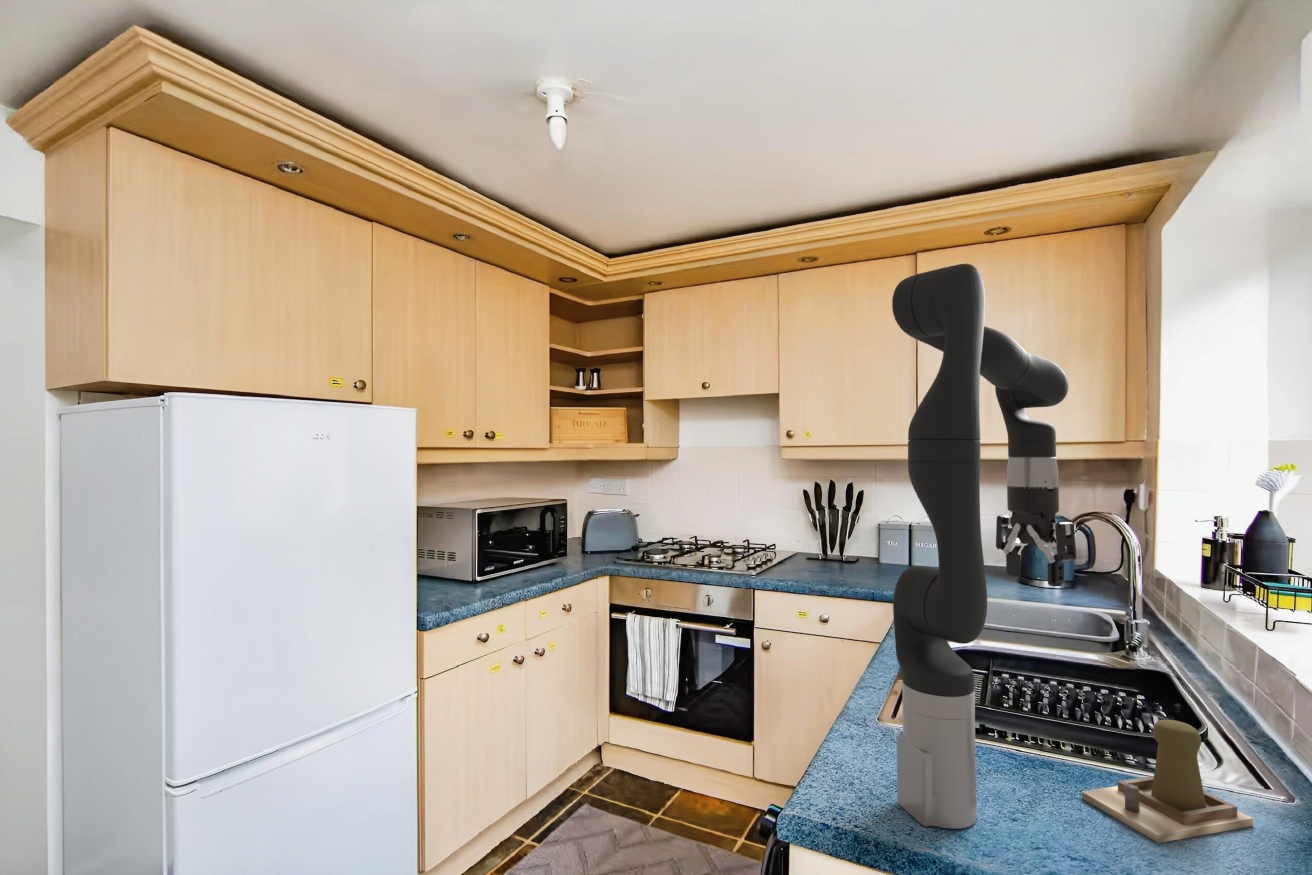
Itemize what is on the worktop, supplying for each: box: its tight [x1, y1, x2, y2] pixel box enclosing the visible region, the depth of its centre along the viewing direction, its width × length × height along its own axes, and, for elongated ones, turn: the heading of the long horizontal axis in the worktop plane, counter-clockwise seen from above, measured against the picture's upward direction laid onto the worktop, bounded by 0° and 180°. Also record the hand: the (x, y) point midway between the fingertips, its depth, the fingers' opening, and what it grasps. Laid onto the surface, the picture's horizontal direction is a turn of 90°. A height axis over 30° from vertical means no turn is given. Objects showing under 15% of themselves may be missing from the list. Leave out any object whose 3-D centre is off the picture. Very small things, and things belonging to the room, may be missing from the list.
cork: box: [1151, 719, 1206, 812], centre depth 89 cm, size 6×6×11 cm
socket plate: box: [1081, 775, 1254, 844], centre depth 89 cm, size 16×11×4 cm
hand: (1034, 580), depth 108 cm, fingers open, 8 cm apart
